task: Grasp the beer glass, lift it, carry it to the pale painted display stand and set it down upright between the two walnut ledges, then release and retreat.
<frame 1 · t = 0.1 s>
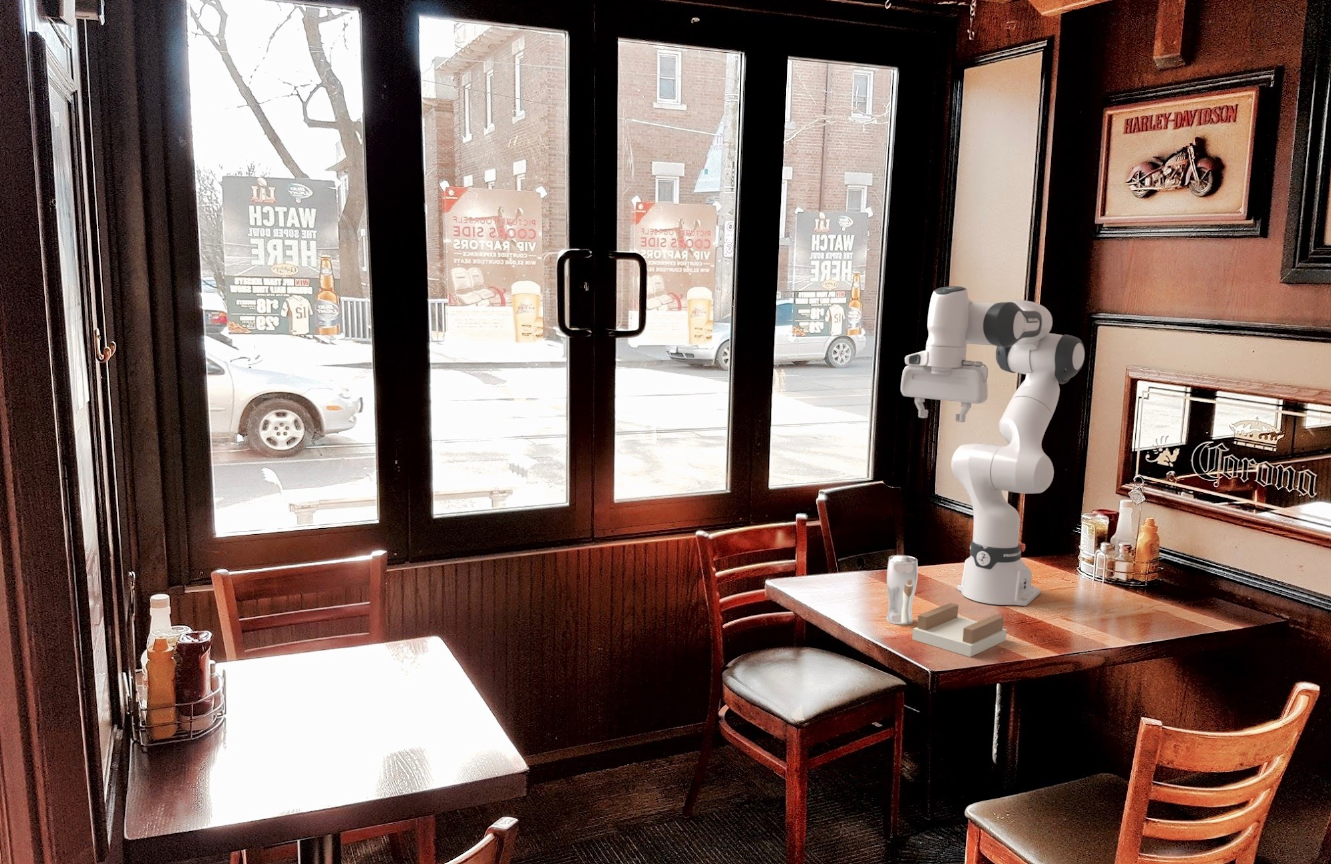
hand: (941, 419, 224), 48 cm above the table, fingers open, 8 cm apart
display stand: (959, 639, 219), on the table
beer glass: (899, 621, 231), on the table
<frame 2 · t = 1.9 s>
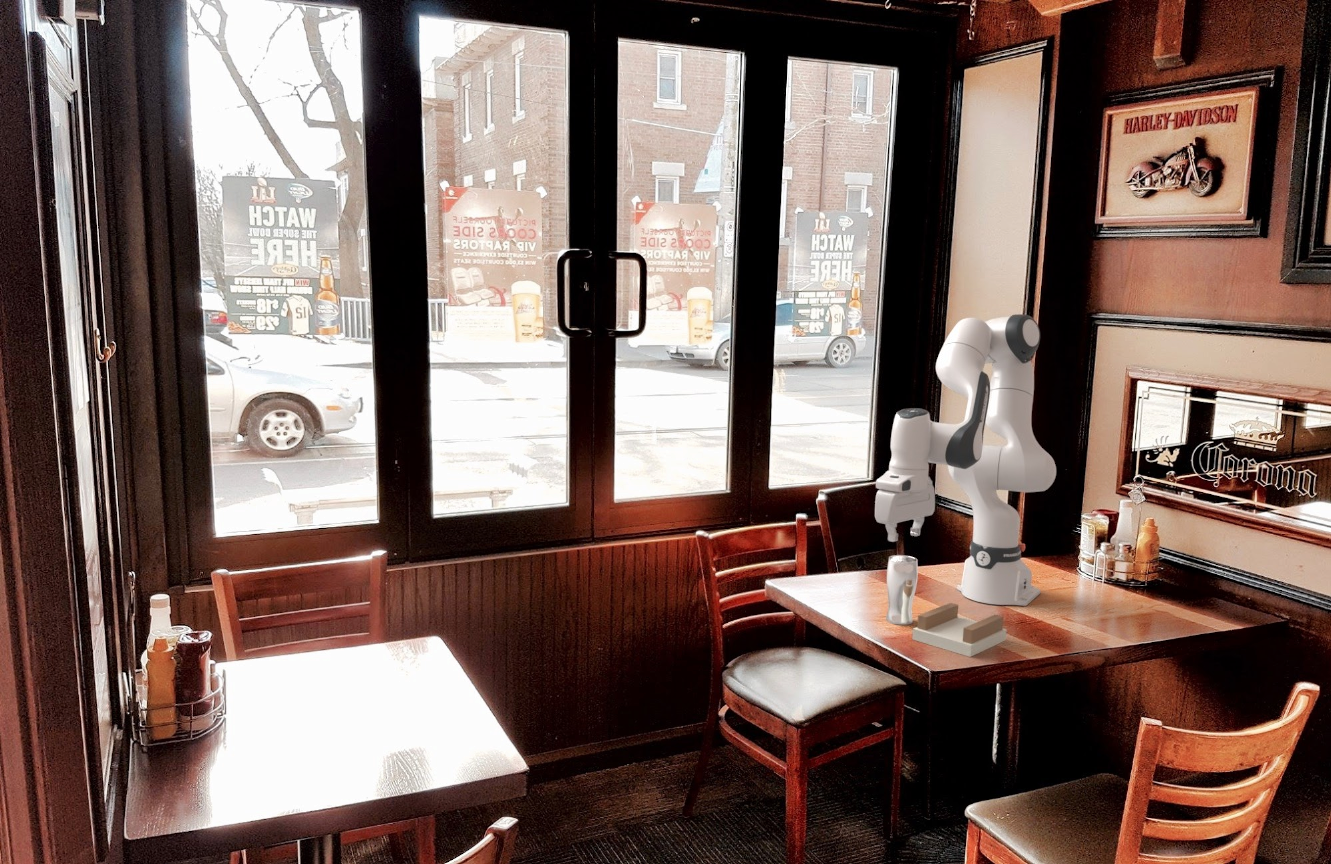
hand: (904, 538, 228), 20 cm above the table, fingers open, 8 cm apart
nothing on the table moved.
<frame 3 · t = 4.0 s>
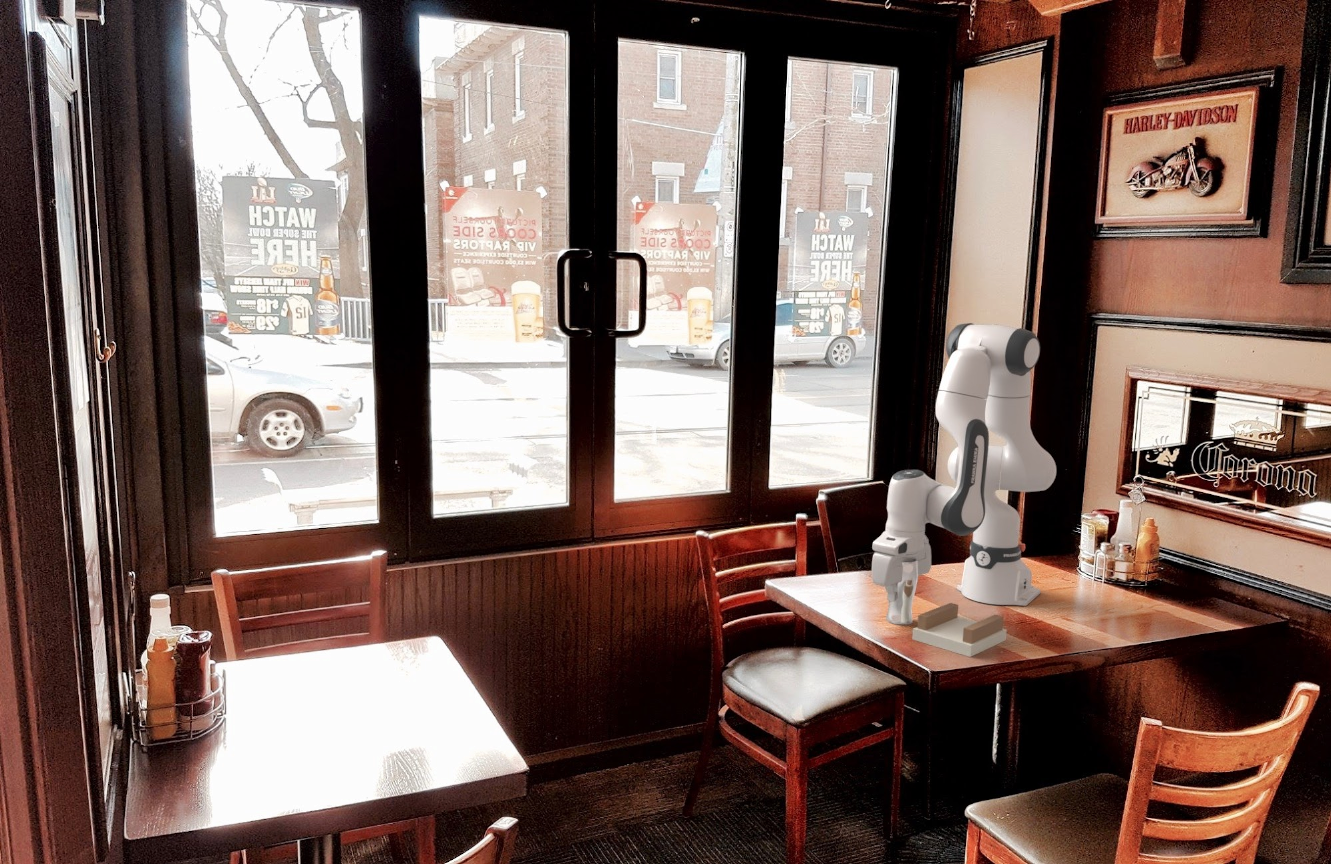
hand: (900, 597, 231), 6 cm above the table, fingers closed on beer glass, 6 cm apart
beer glass: (899, 621, 231), on the table, touching gripper
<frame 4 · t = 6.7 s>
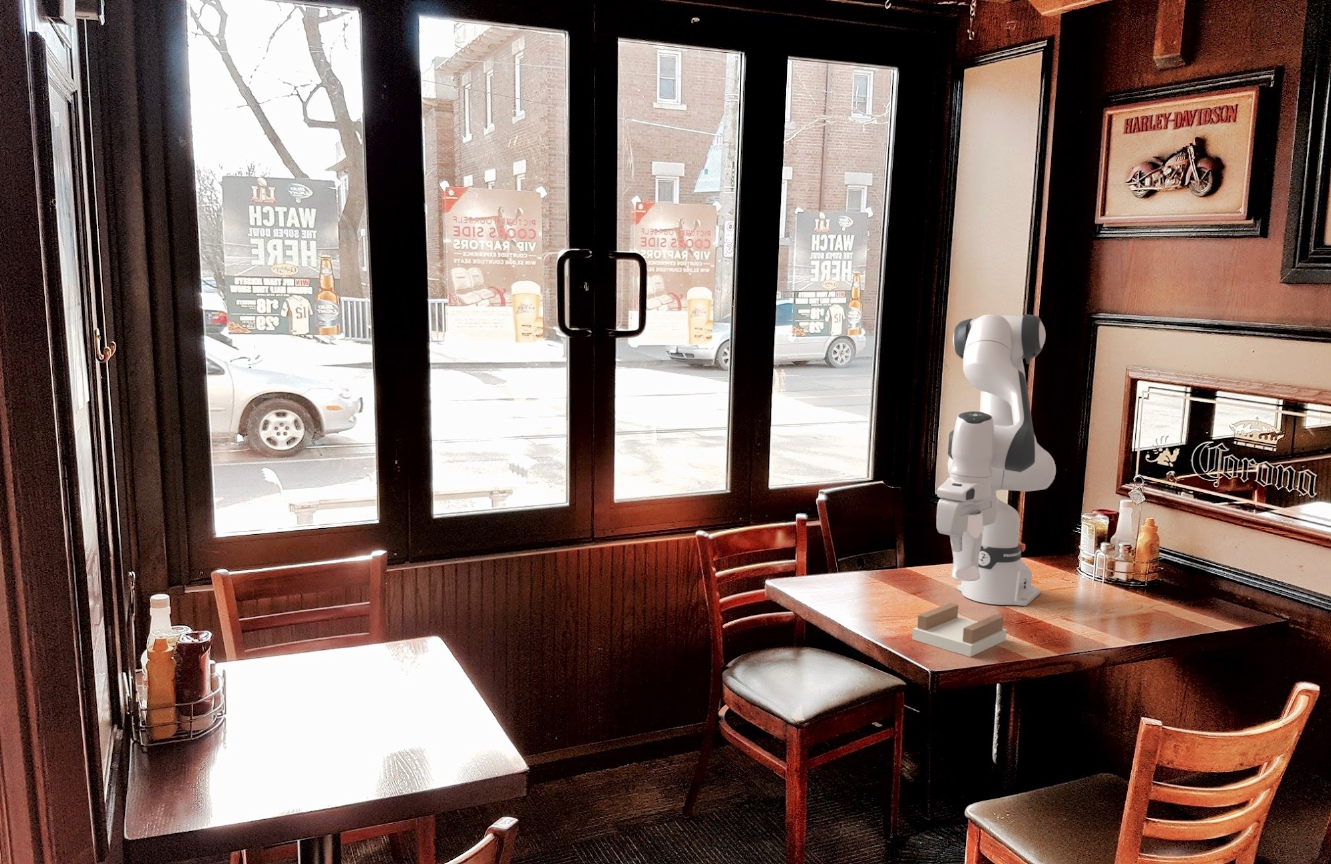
hand: (965, 548, 217), 21 cm above the table, fingers closed on beer glass, 6 cm apart
beer glass: (965, 577, 218), point 14 cm above the table, touching gripper
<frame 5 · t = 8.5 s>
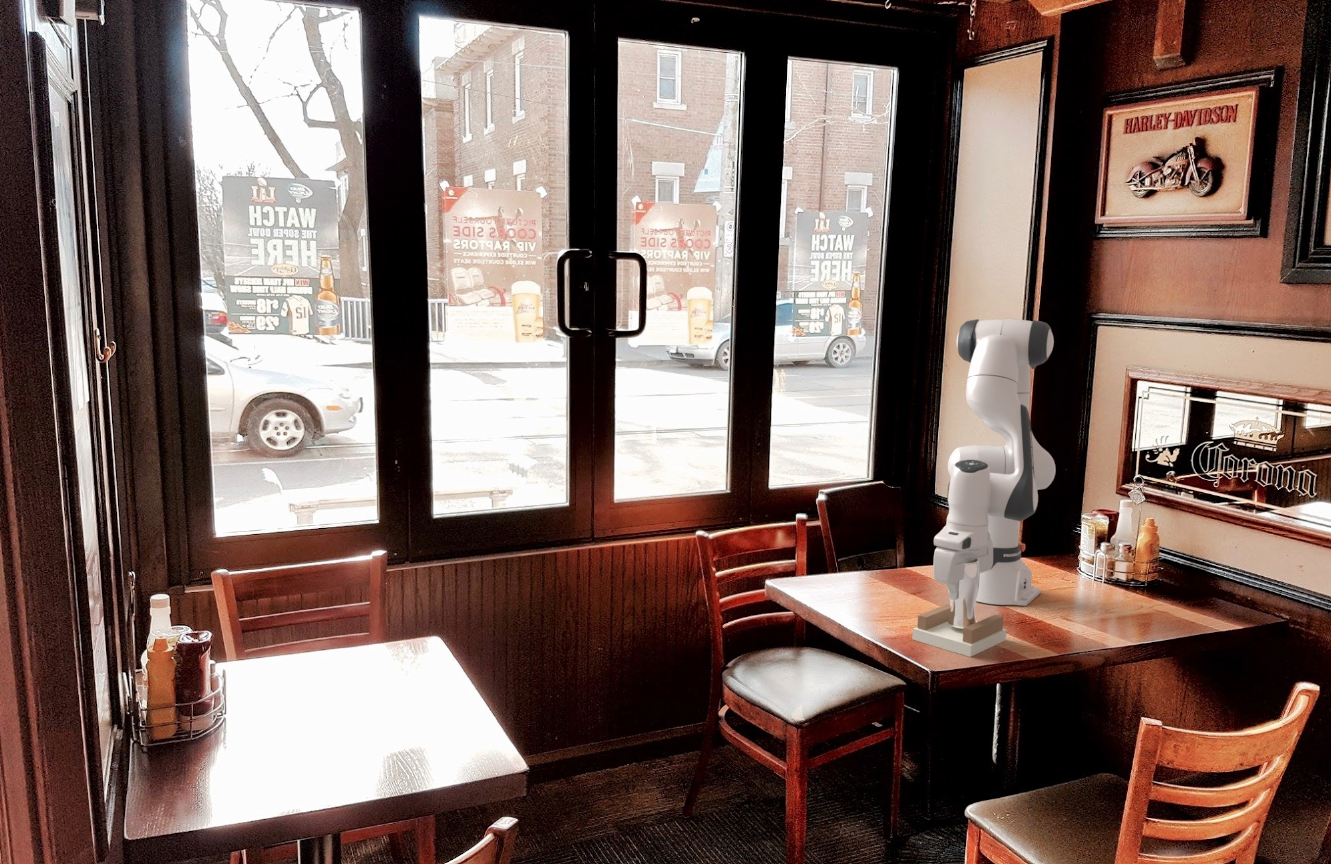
hand: (962, 595, 218), 10 cm above the table, fingers closed on beer glass, 6 cm apart
beer glass: (962, 624, 219), point 3 cm above the table, touching gripper
when the fingers open (9 cm above the table, at t = 9.7 s): beer glass stays where it is, resting on display stand.
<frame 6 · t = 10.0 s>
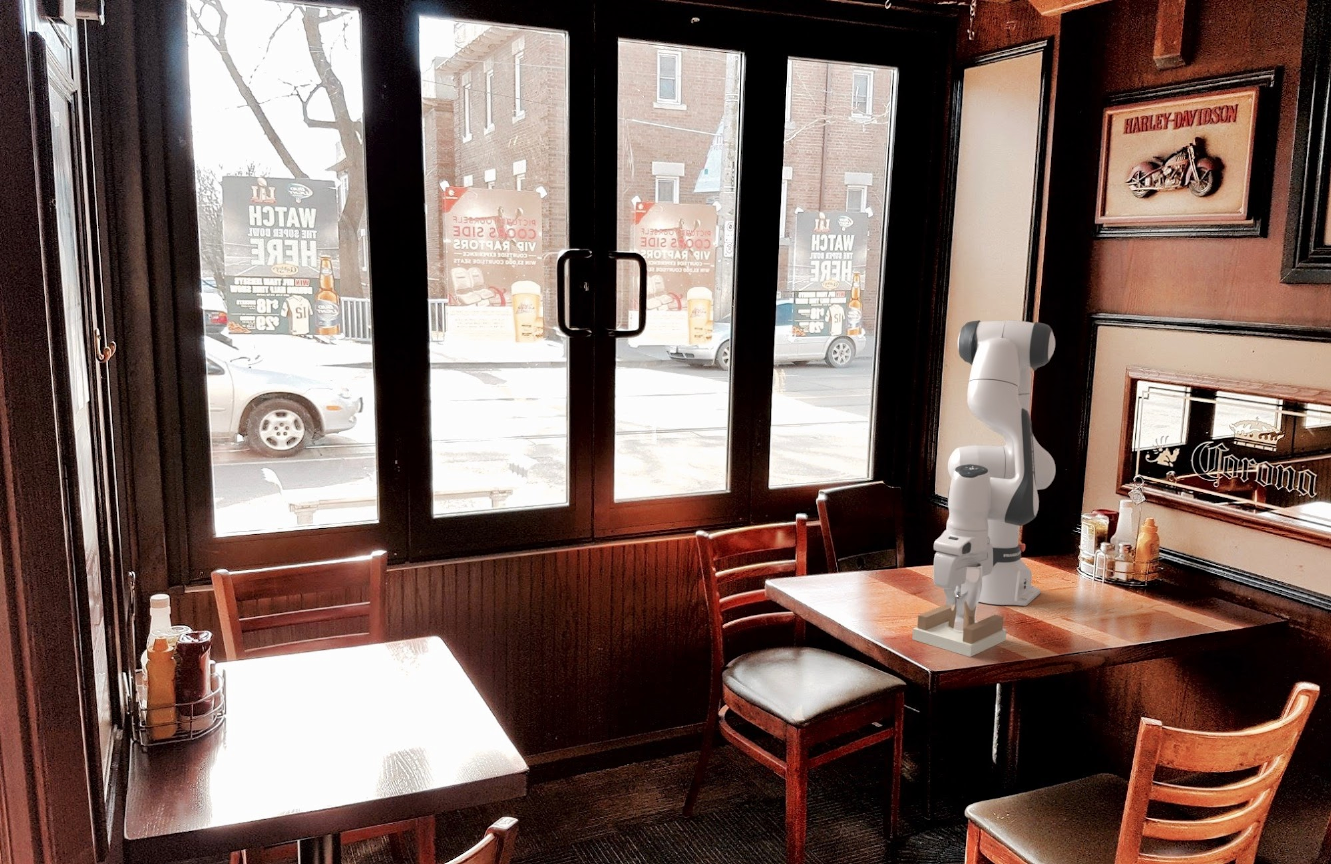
hand: (962, 600, 218), 9 cm above the table, fingers open, 8 cm apart
beer glass: (962, 629, 219), point 2 cm above the table, touching display stand
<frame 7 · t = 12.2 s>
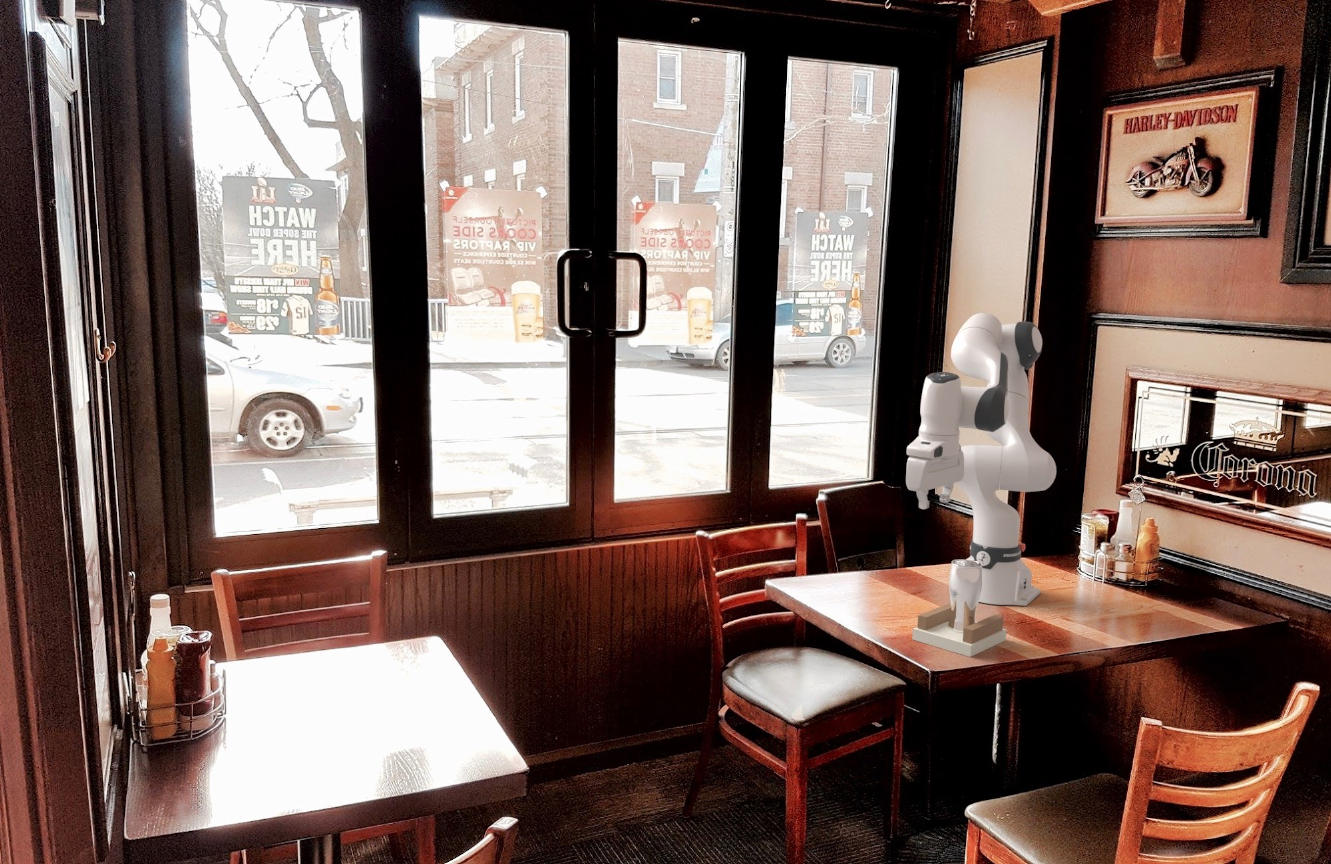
hand: (934, 505, 224), 29 cm above the table, fingers open, 8 cm apart
nothing on the table moved.
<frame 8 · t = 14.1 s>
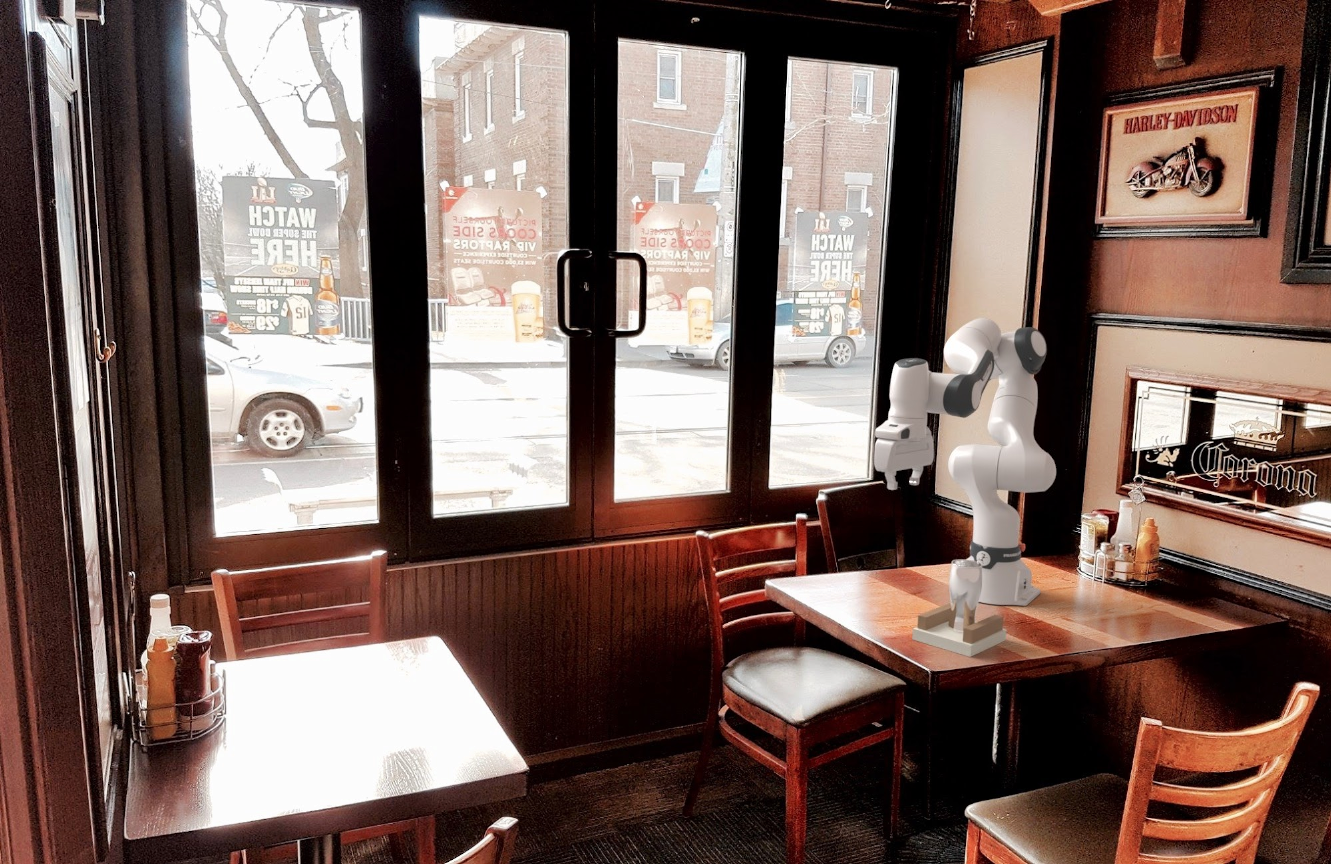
hand: (903, 487, 231), 31 cm above the table, fingers open, 8 cm apart
nothing on the table moved.
at the end: beer glass inside the target area on the display stand (0.6 cm from its centre), point 2.3 cm above the display stand's base; beer glass tilted 0°; the gripper is holding nothing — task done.
